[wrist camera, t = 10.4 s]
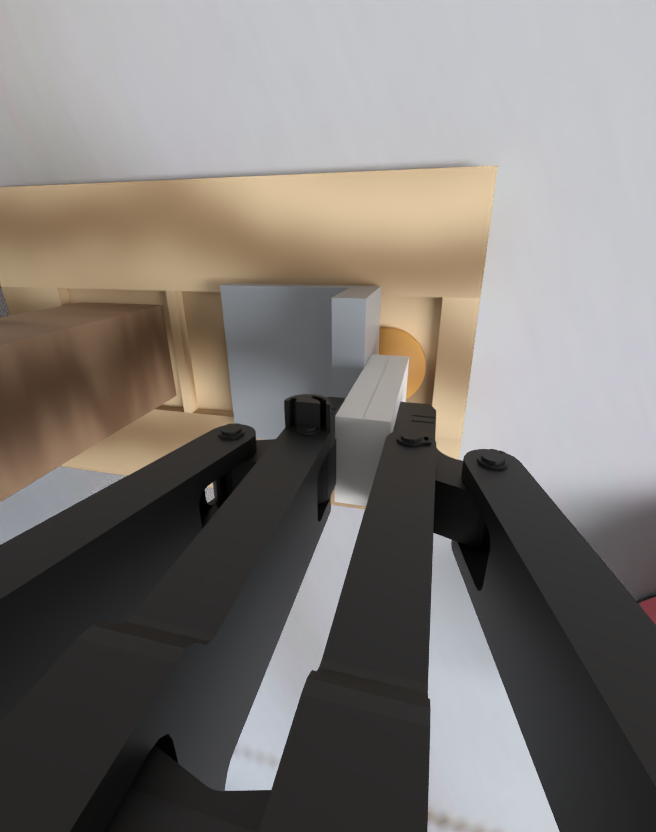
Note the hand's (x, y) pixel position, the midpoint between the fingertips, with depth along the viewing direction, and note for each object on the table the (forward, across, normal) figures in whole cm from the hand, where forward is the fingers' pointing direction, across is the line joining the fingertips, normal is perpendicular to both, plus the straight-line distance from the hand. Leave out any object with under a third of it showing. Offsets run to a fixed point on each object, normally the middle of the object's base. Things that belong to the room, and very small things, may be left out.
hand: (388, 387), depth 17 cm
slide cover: (+2, +4, 0) cm, 5 cm away
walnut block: (+3, +15, 0) cm, 15 cm away
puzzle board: (+4, +9, 0) cm, 10 cm away
